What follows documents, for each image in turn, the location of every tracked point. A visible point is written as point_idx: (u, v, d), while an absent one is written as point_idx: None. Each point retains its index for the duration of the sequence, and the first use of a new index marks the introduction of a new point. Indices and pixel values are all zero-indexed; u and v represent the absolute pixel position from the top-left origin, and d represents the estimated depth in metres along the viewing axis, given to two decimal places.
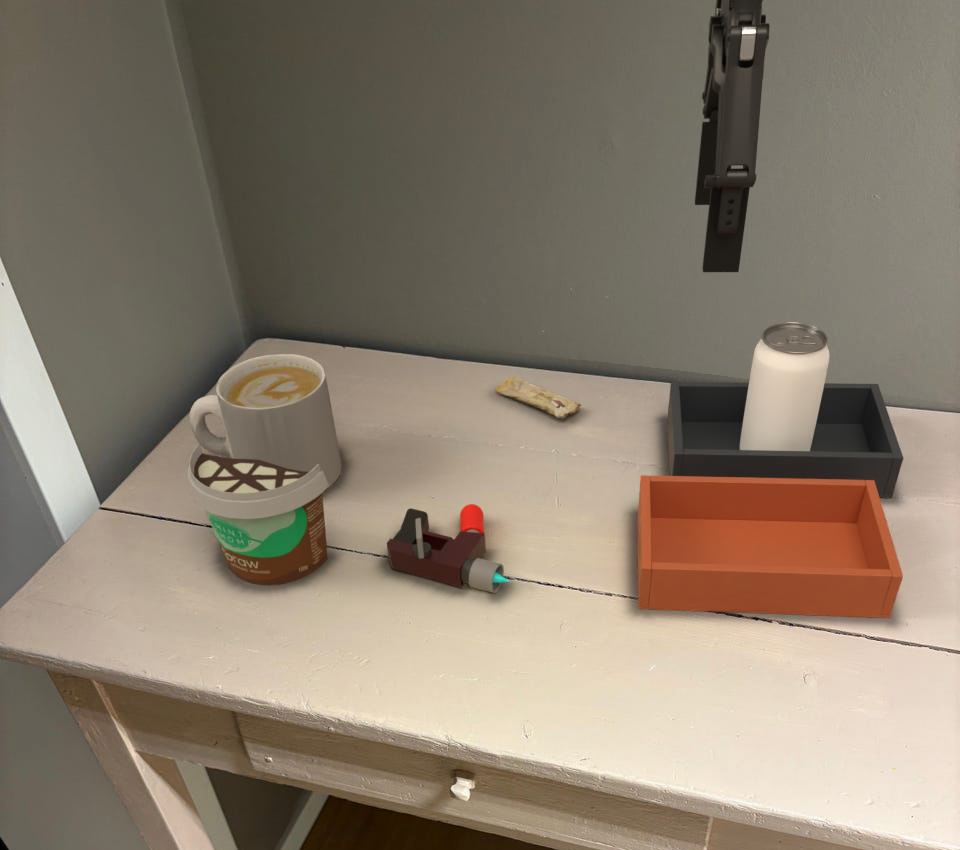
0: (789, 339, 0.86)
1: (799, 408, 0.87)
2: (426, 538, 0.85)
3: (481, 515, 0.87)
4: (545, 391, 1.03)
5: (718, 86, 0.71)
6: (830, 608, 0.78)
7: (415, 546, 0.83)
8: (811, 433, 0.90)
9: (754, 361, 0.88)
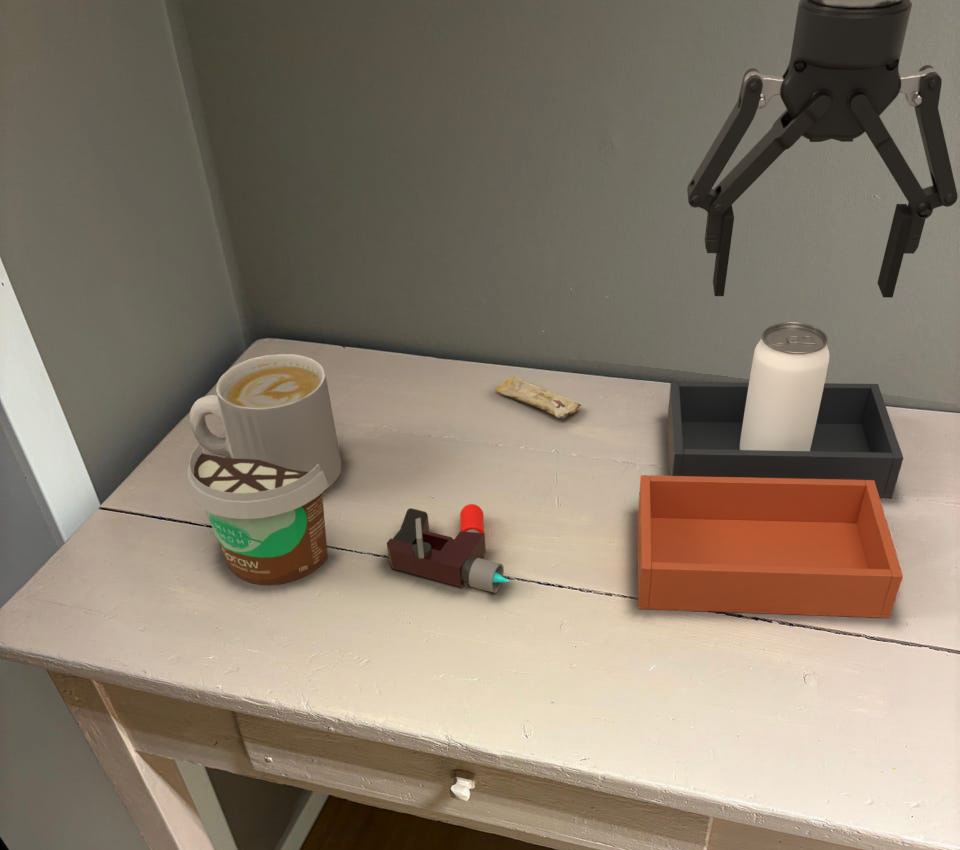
0: (789, 339, 0.86)
1: (799, 408, 0.87)
2: (426, 538, 0.85)
3: (481, 515, 0.87)
4: (545, 391, 1.03)
5: (888, 139, 0.73)
6: (830, 608, 0.78)
7: (415, 546, 0.83)
8: (811, 433, 0.90)
9: (754, 361, 0.88)
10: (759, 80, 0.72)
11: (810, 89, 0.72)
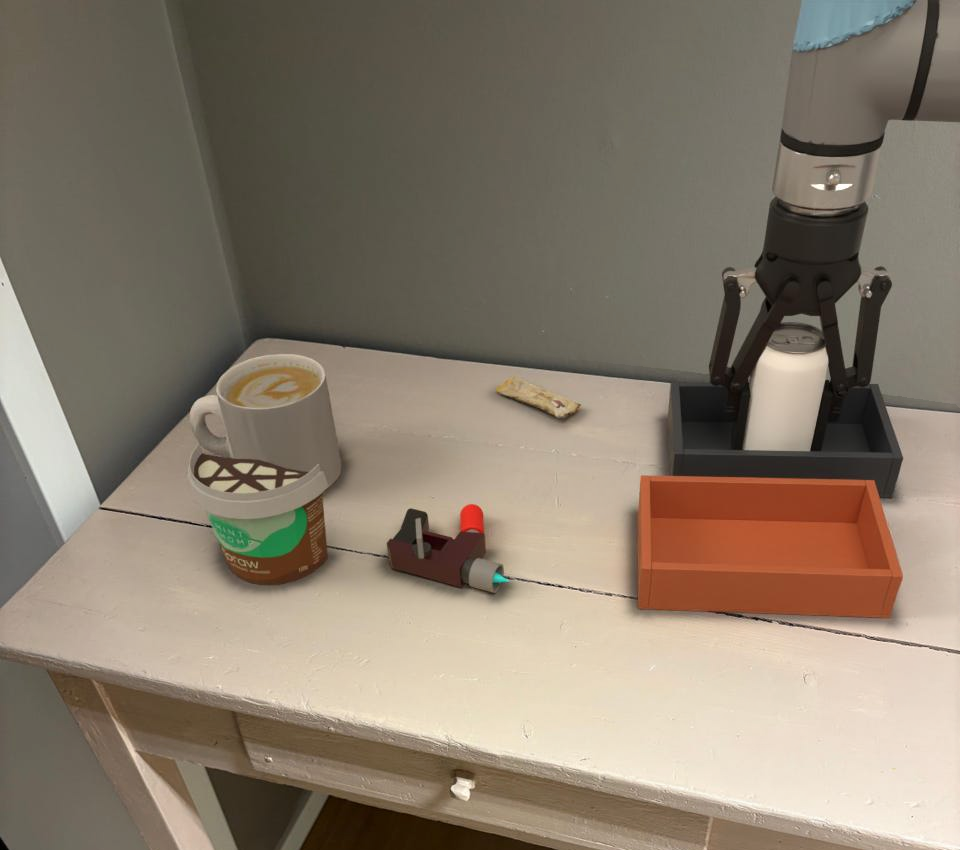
0: (789, 339, 0.86)
1: (799, 408, 0.87)
2: (426, 538, 0.85)
3: (481, 515, 0.87)
4: (545, 391, 1.03)
5: (835, 324, 0.84)
6: (830, 608, 0.78)
7: (415, 546, 0.83)
8: (811, 433, 0.90)
9: None
10: (733, 280, 0.82)
11: (780, 271, 0.81)
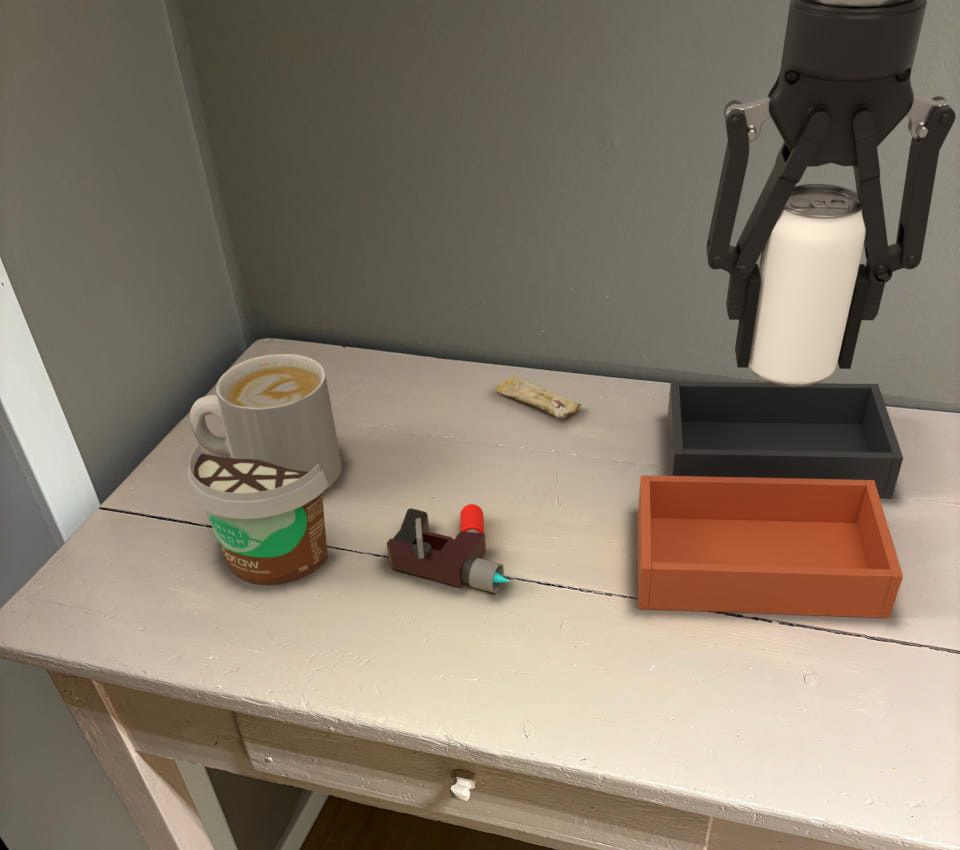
0: (813, 203, 0.65)
1: (826, 296, 0.66)
2: (426, 538, 0.85)
3: (481, 515, 0.87)
4: (545, 391, 1.03)
5: (876, 177, 0.62)
6: (830, 608, 0.78)
7: (415, 546, 0.83)
8: (840, 334, 0.69)
9: None
10: (739, 114, 0.61)
11: (804, 99, 0.60)
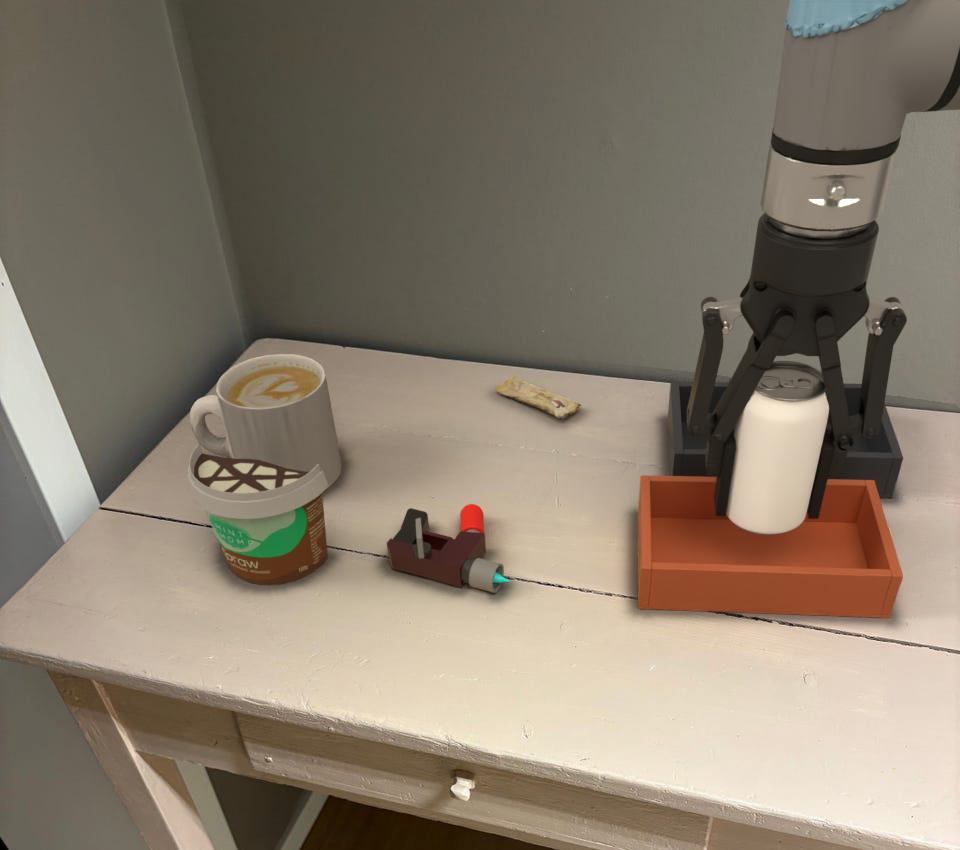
0: (782, 382, 0.72)
1: (794, 464, 0.73)
2: (426, 538, 0.85)
3: (481, 515, 0.87)
4: (545, 391, 1.03)
5: (837, 366, 0.69)
6: (830, 608, 0.78)
7: (415, 546, 0.83)
8: (808, 492, 0.76)
9: None
10: (714, 314, 0.68)
11: (771, 303, 0.67)
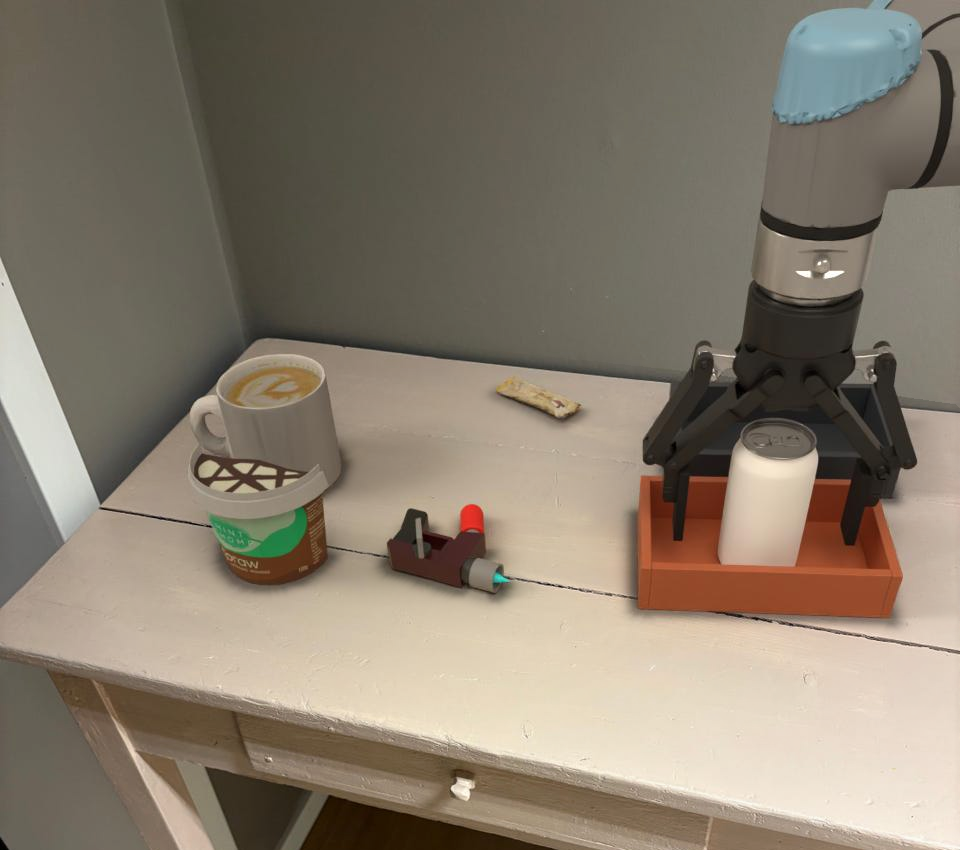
0: (772, 440, 0.75)
1: (784, 517, 0.76)
2: (426, 538, 0.85)
3: (481, 515, 0.87)
4: (545, 391, 1.03)
5: (844, 412, 0.71)
6: (830, 608, 0.78)
7: (415, 546, 0.83)
8: (798, 542, 0.79)
9: (732, 463, 0.77)
10: (710, 359, 0.70)
11: (762, 367, 0.70)
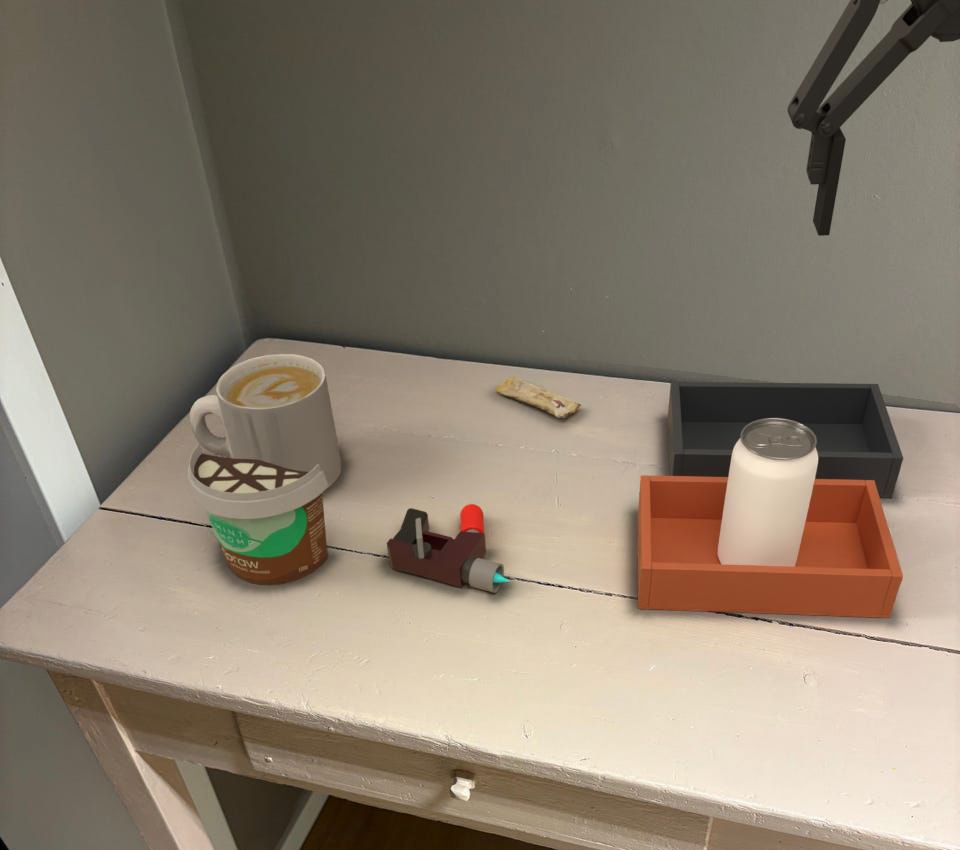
0: (772, 440, 0.75)
1: (784, 517, 0.76)
2: (426, 538, 0.85)
3: (481, 515, 0.87)
4: (545, 391, 1.03)
5: None
6: (830, 608, 0.78)
7: (415, 546, 0.83)
8: (798, 542, 0.79)
9: (732, 463, 0.77)
10: None
11: None
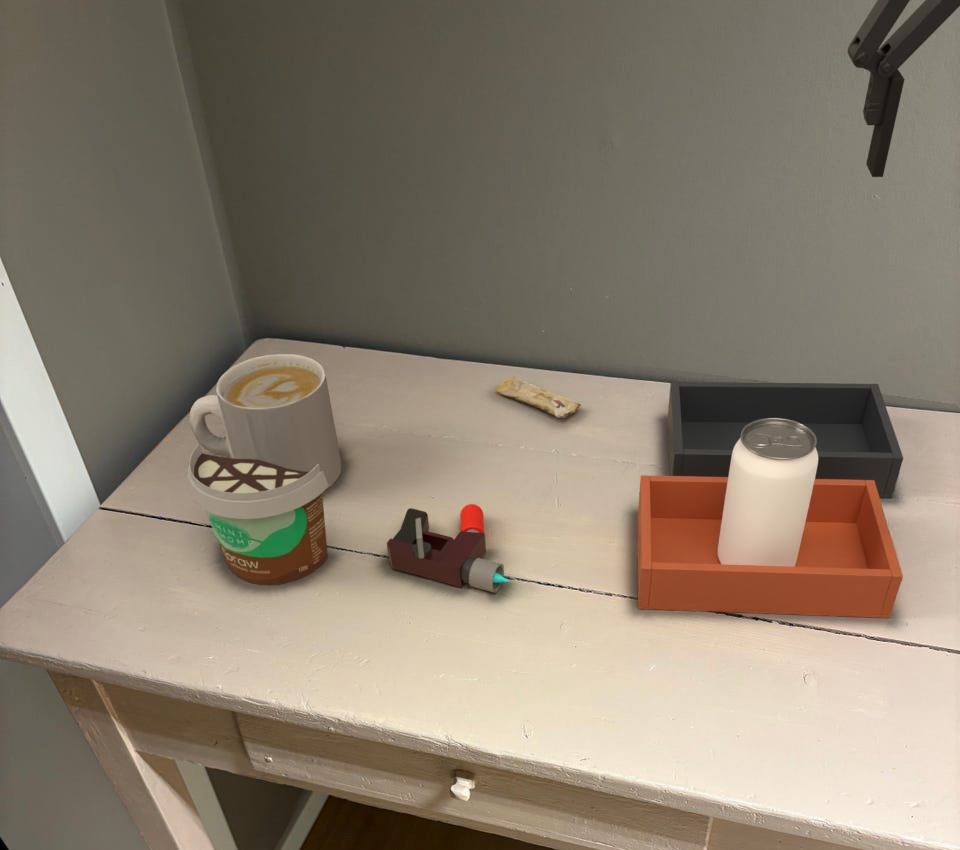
0: (772, 440, 0.75)
1: (784, 517, 0.76)
2: (426, 538, 0.85)
3: (481, 515, 0.87)
4: (545, 391, 1.03)
5: None
6: (830, 608, 0.78)
7: (415, 546, 0.83)
8: (798, 542, 0.79)
9: (732, 463, 0.77)
10: None
11: None
